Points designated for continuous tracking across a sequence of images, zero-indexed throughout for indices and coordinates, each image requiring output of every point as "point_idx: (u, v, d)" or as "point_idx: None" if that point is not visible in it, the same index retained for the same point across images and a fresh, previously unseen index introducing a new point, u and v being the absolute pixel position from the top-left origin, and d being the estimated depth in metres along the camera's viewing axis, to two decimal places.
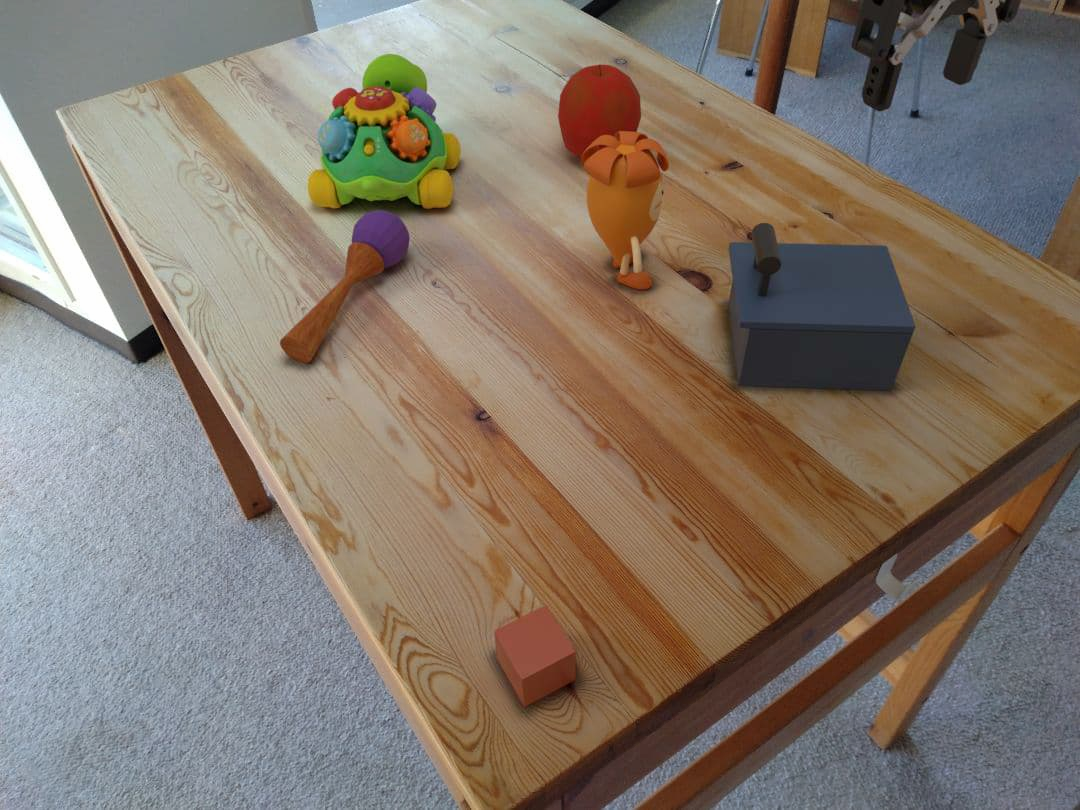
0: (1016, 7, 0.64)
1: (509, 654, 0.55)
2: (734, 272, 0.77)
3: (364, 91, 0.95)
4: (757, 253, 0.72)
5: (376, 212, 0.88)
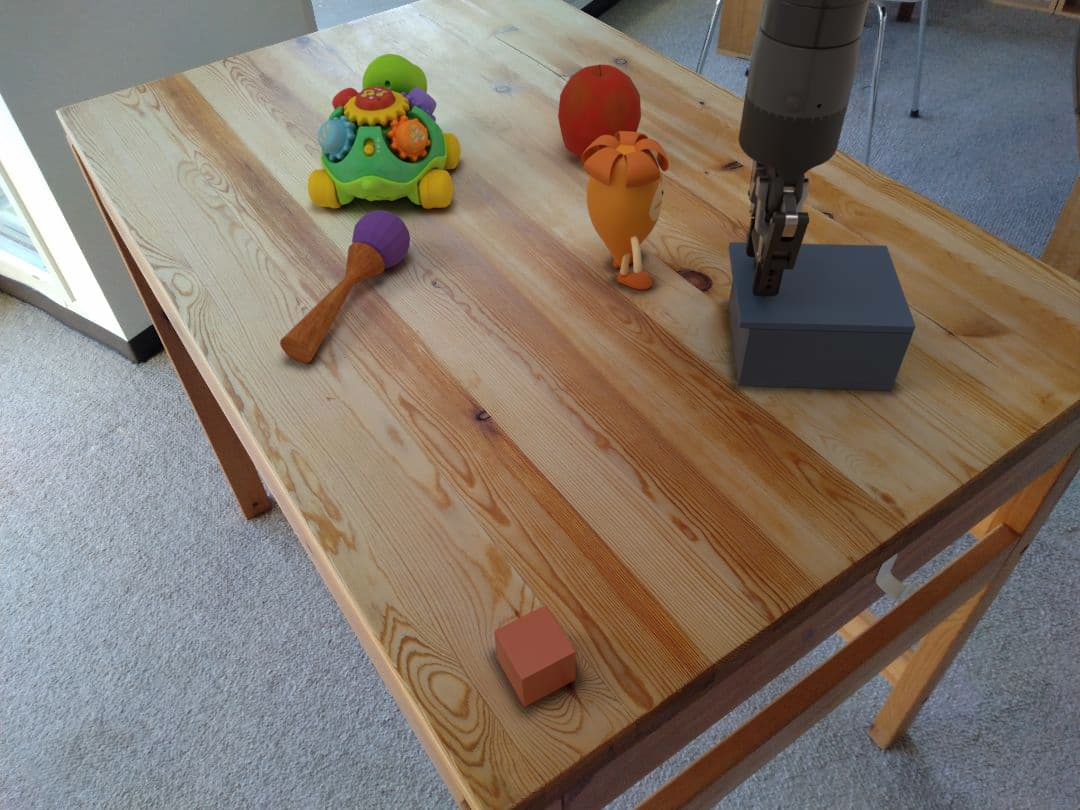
0: None
1: (509, 654, 0.55)
2: (734, 272, 0.77)
3: (364, 91, 0.95)
4: None
5: (377, 212, 0.88)
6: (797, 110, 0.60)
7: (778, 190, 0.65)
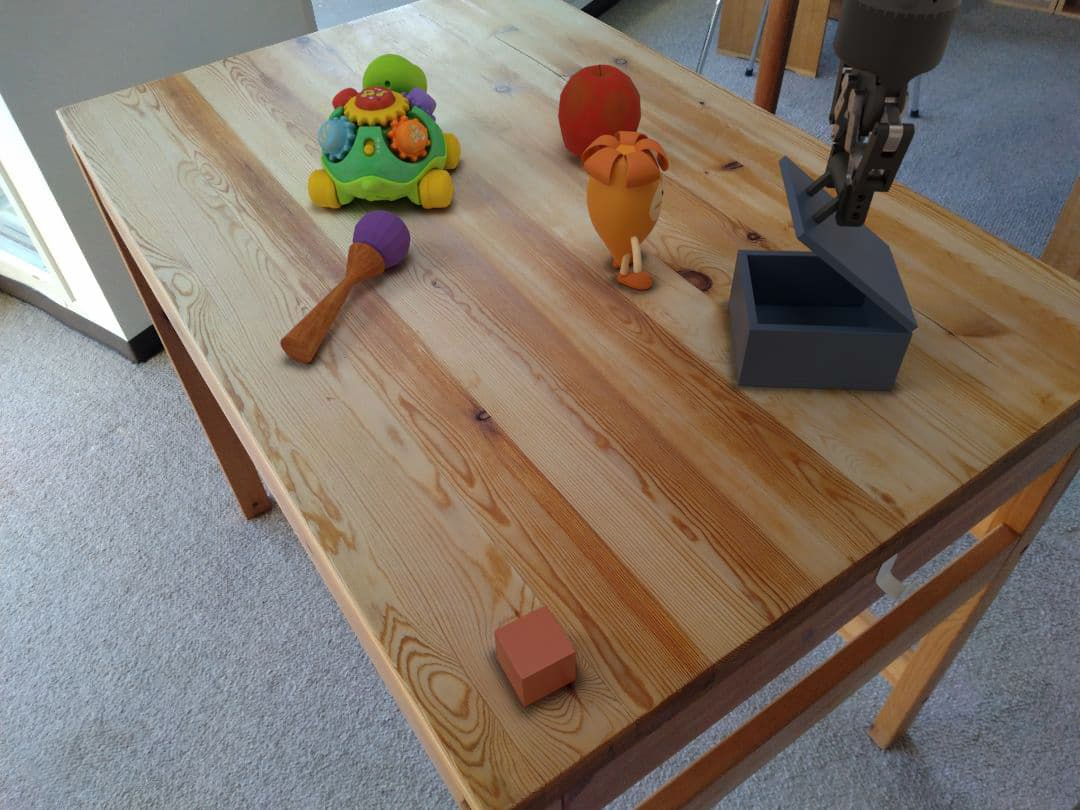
0: None
1: (509, 654, 0.55)
2: (792, 184, 0.70)
3: (364, 91, 0.95)
4: None
5: (377, 212, 0.88)
6: (910, 5, 0.55)
7: (879, 100, 0.59)
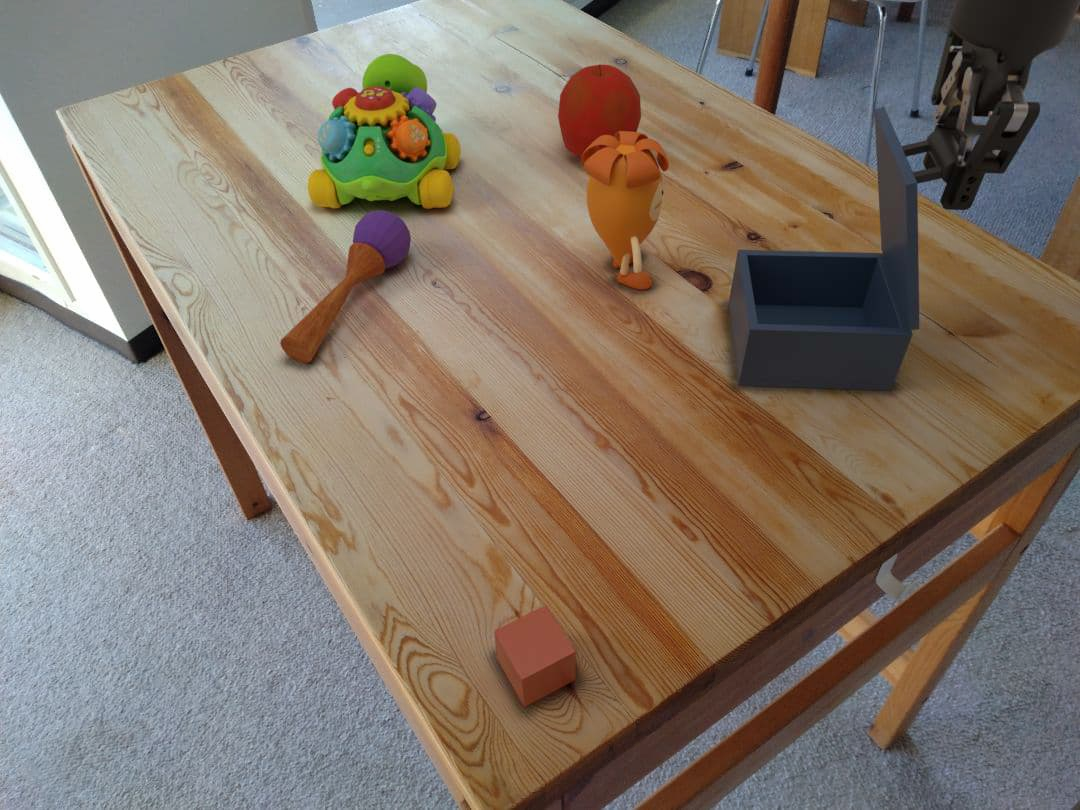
0: None
1: (509, 654, 0.55)
2: (896, 135, 0.66)
3: (364, 91, 0.95)
4: (956, 152, 0.64)
5: (377, 212, 0.88)
6: None
7: (1001, 78, 0.57)
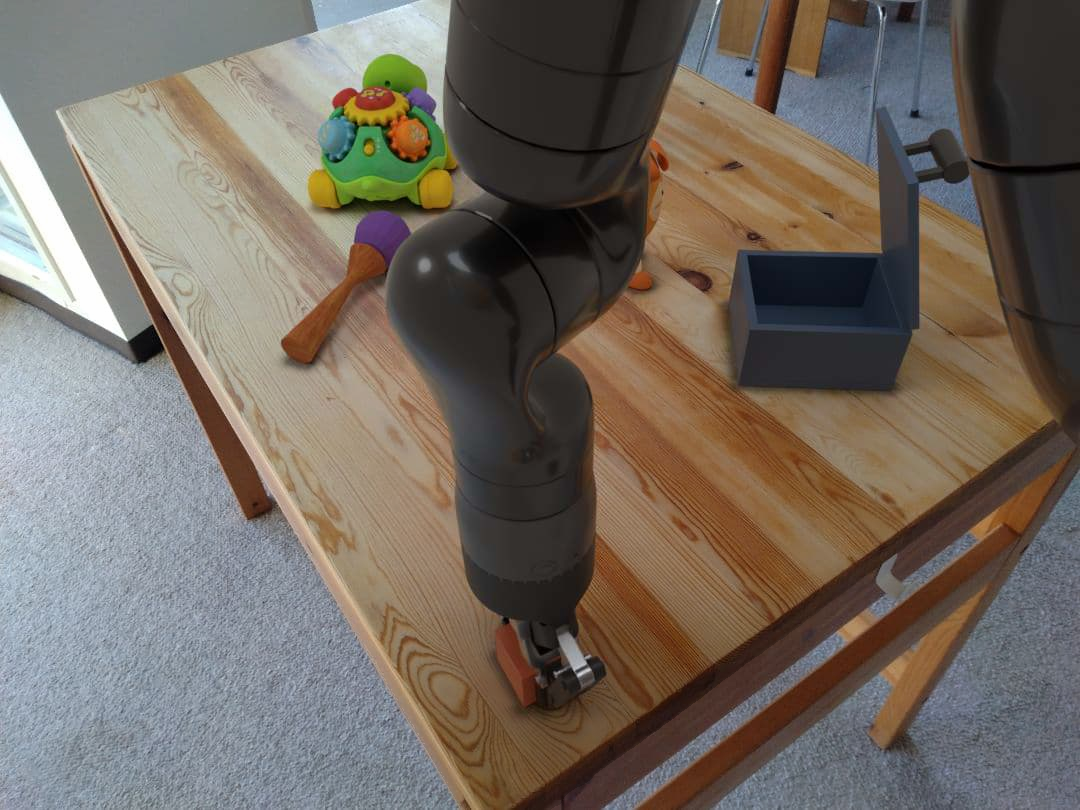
0: None
1: (509, 654, 0.55)
2: (898, 135, 0.66)
3: (364, 91, 0.95)
4: (958, 152, 0.64)
5: (378, 213, 0.88)
6: (551, 572, 0.43)
7: (551, 639, 0.48)
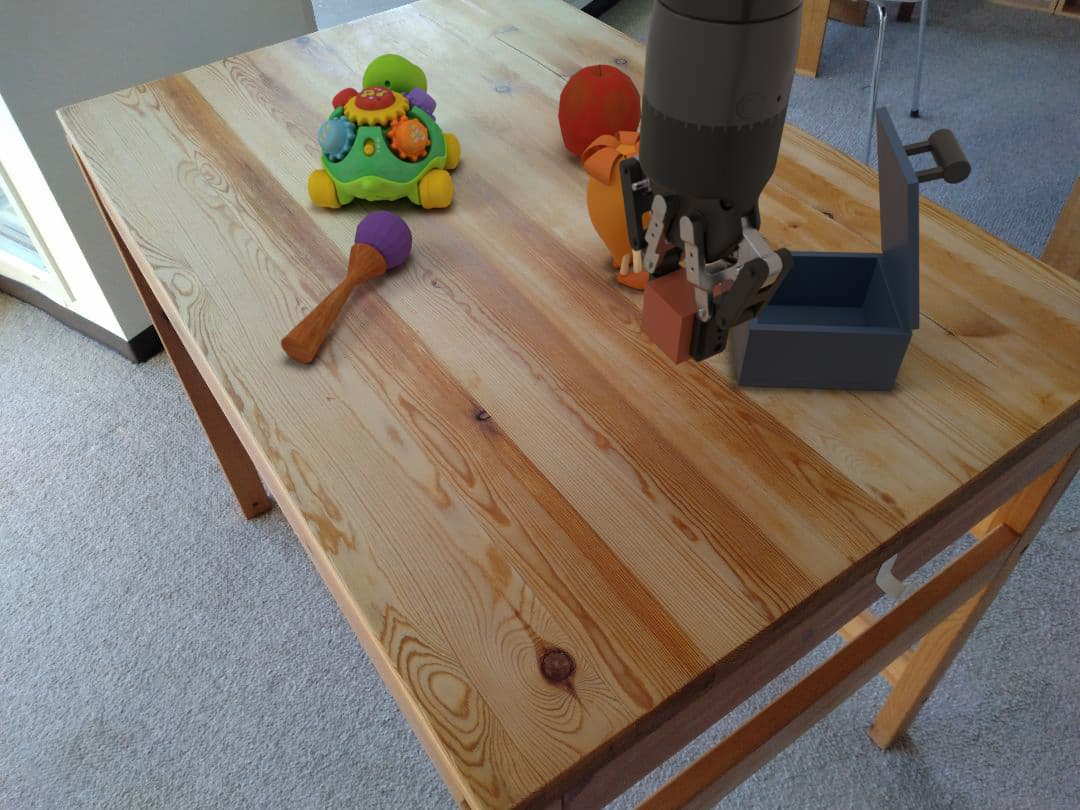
0: None
1: (664, 299, 0.53)
2: (898, 135, 0.66)
3: (364, 91, 0.95)
4: (958, 152, 0.64)
5: (379, 213, 0.88)
6: (755, 113, 0.41)
7: (735, 227, 0.45)
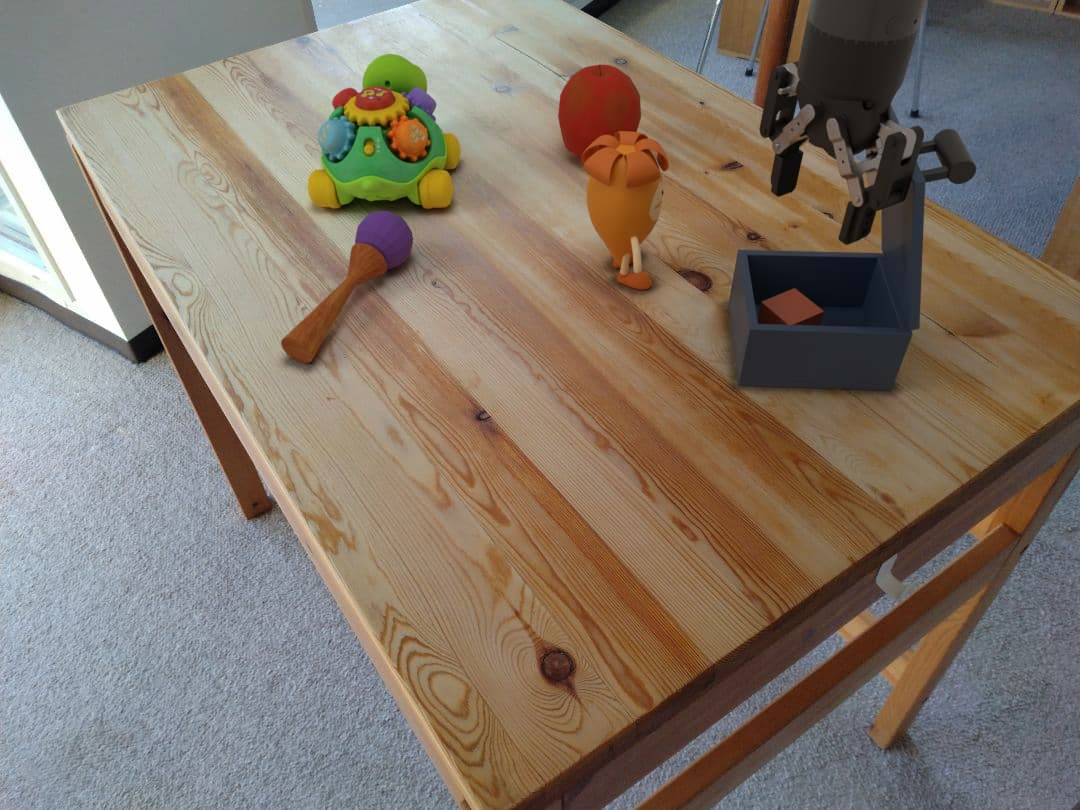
0: None
1: (776, 313, 0.77)
2: None
3: (364, 91, 0.95)
4: (963, 152, 0.64)
5: (380, 213, 0.88)
6: (898, 31, 0.56)
7: (874, 123, 0.61)
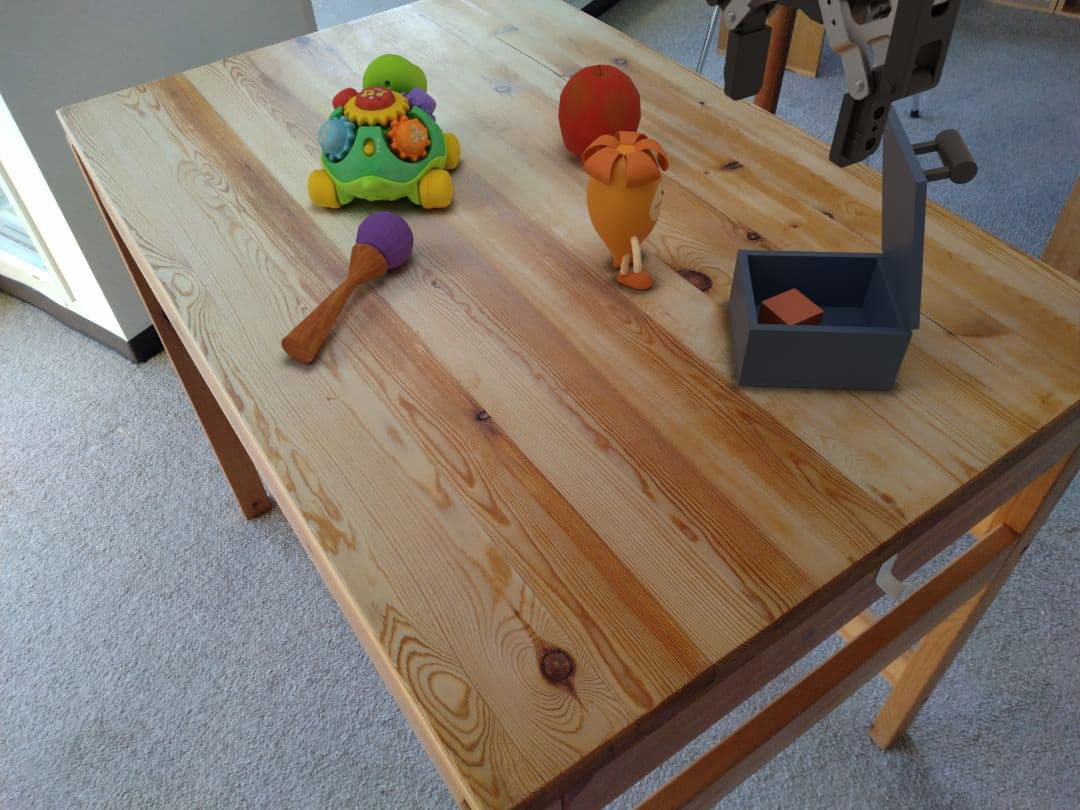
0: None
1: (776, 313, 0.77)
2: (905, 134, 0.66)
3: (364, 91, 0.95)
4: (965, 153, 0.64)
5: (380, 213, 0.88)
6: None
7: None
